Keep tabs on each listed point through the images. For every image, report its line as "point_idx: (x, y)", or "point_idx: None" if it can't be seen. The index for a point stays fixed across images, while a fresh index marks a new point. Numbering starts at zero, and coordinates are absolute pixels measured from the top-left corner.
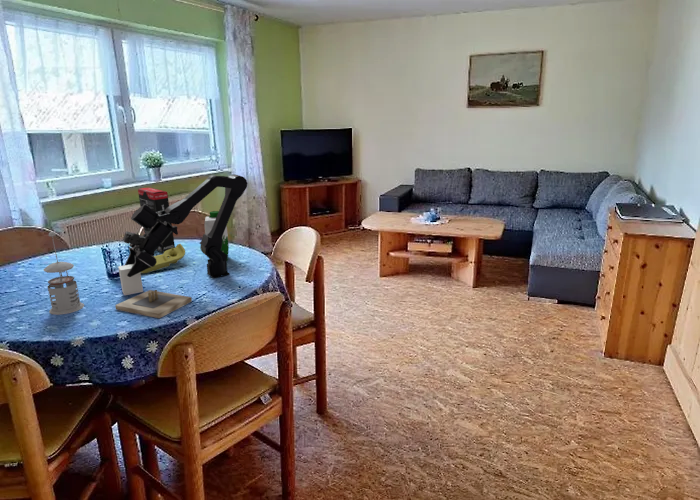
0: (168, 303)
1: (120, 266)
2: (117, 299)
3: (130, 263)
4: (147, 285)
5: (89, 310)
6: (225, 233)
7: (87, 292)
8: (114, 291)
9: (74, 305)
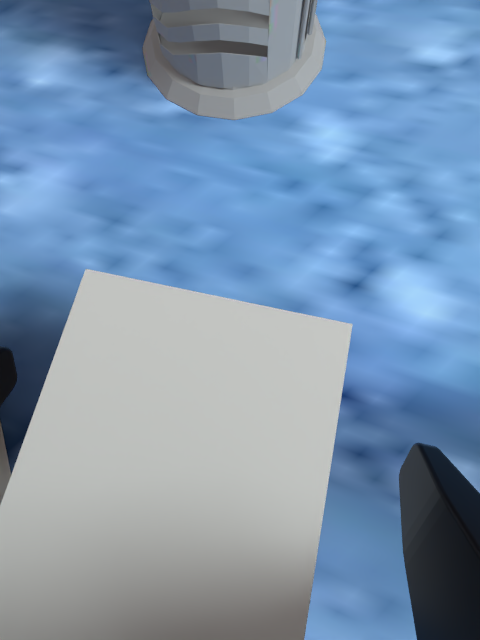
0: None
1: (321, 354)
2: None
3: (447, 617)
4: None
5: (91, 114)
6: None
7: (456, 190)
8: None
9: (187, 51)
